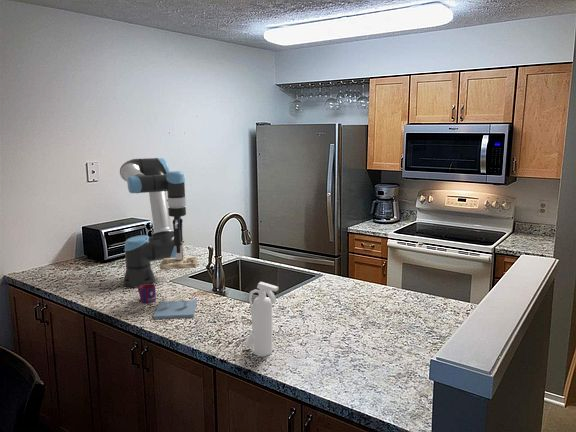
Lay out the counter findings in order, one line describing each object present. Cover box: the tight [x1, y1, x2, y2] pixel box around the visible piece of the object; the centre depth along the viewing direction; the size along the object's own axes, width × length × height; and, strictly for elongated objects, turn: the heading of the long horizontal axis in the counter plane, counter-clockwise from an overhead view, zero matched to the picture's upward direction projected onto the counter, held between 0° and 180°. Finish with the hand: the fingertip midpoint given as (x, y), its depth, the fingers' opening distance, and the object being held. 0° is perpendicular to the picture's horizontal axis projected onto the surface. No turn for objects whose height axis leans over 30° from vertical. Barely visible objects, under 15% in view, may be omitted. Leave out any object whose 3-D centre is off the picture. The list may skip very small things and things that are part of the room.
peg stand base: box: [159, 240, 198, 270], centre depth 204 cm, size 15×11×10 cm
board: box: [153, 297, 198, 320], centre depth 195 cm, size 16×16×5 cm
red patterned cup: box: [137, 283, 157, 305], centre depth 207 cm, size 7×10×7 cm
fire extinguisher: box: [245, 281, 279, 357], centre depth 157 cm, size 7×12×25 cm, turn 61°
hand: (179, 258), depth 206 cm, fingers closed on peg stand base, 3 cm apart
